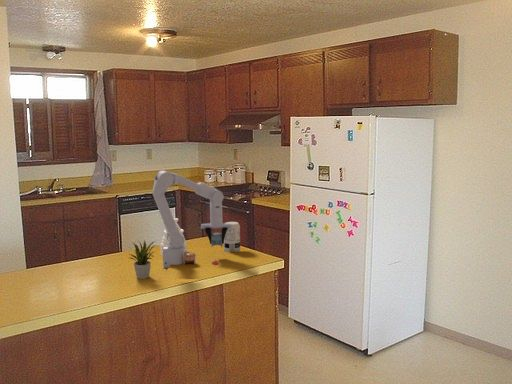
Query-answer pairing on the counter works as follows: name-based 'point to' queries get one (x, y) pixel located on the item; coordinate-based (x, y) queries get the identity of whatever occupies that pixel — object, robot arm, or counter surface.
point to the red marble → (214, 262)
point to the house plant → (142, 260)
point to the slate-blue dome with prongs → (216, 239)
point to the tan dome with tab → (189, 258)
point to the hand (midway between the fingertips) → (216, 243)
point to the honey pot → (165, 242)
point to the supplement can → (232, 238)
